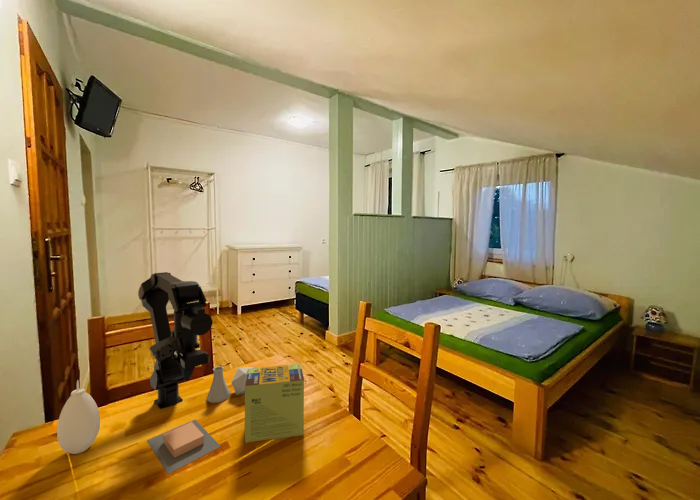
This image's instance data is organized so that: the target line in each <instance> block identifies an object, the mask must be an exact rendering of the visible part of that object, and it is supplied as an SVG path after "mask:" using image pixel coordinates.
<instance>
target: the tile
mask: <svg viewBox="0 0 700 500" xmlns="http://www.w3.org/2000/svg"><path fill="white" fill-rule="evenodd" d="M189 422H190V421H189ZM187 423H188V422H187ZM185 424H186V423H185ZM182 425H183V424H182ZM180 426H181V425H180ZM178 427H179V426H178ZM175 428H176V427H175ZM173 429H174V428H173ZM171 430H172V429H171ZM168 431H169V430H168ZM166 432H167V431H166ZM164 433H165V432H164ZM163 443H164V444H165V446H166V447H167V448H168V450H169V451H170V453H171V454H172V456H173V457H174V458H175V457H178V456H180V455H182V454H184V453H186V452H188V451H190V450H192V449H194V448H196V447H198V446H200V445H202V444H203V443H204V435H203V434H202V432H201V431H200V430H199V429H198V428H197V427H196V426H195V425H194V424H193V423H192V422H190V423H188V424H186V425H183V426H181V427H179V428H176V429H174V430H172V431H169V432H167V433H165V434H163Z"/></svg>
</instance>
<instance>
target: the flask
mask: <svg viewBox="0 0 700 500" xmlns="http://www.w3.org/2000/svg"><path fill="white" fill-rule="evenodd" d="M224 369H225V367H224V366H220V365H219V366H218V365H217V366H215V367H214V368H212V371H213V378H212V382H211V386H210V388H209V391H208V394H207V396H206V400H205V401H207V402H209V403H211V404H212V403H214V404H215V403H222V402H224V401H226V400H227V399H229V398H230V396H231V390H230V389H229V386H228V385H227V383H226V380H225V378H224Z"/></svg>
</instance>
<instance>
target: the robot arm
mask: <svg viewBox="0 0 700 500" xmlns="http://www.w3.org/2000/svg"><path fill="white" fill-rule="evenodd" d="M137 293H138V298H139V300H140V301H141V305H142V307H143V308H144V309H146V310H147V311H148V312H149V317H150V320H151V325H152V331H153V336H154V341H155V344H153V345H151V346H150V347H149V350H150V352H151V354H152V356H153V359H155V362H154V364H153V372H152V374H151V376H150V378H149V382H150V383H149V384H150V387H151V388H153V390H154V391H157V399H154V400H153V403H154V404H155V405H156V406H157V407H158V409H160V410H163V409H165V408H167V407H170V406H173V405H175V404H179V403H181V402H183V401H184V399H183V398H182V397H181V396H180V395H179V392H180V390H179V388H180V387H179V383H181V382H188V381H190V379H191V377H192V375H193V373H194V371H195V369H196V367H200V366H202V365H206V364H208V363H210V354H208V352H206V351H205V350H203V349H201V345H200V343H199V342H198V336H203V335H206V334H207V333H208V332H210V330H211V328H212V327H213V319H212V317H211V315H209V314H208V313H206V309H205V308H204V307H207V298H206V296H205V294H204V292H203V289H202V286H201V285H200V284H199V283H198V282H197V281H193V280H190V281H189V280H185V281H184V280H181V279H180V278H178V277H176V276H174V275H173V274H171V272H168V271H167V272H166V271H165V272H164V271H163V272H154V273H152V274H151V275H150V277H149V278H148V279H146V280H144V281H143V282H142V283H141V284H140V286H139V289H138V291H137ZM169 302H170V304H171V307H172V310H173V325H174V326H173V329H171V326H170V320H169V315H168V311H167V305H168V303H169ZM199 348H200V349H199Z"/></svg>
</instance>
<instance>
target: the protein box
mask: <svg viewBox="0 0 700 500" xmlns="http://www.w3.org/2000/svg"><path fill="white" fill-rule="evenodd" d="M304 406H305V378H304V373H303V368H302V364H301V363H295V364H285V365H275V366H274V365H273V366H272V365H271V366H263V367H256V368H252V369H248V373H247V379H246V383H245V394H244V443H252V442H257V441H258V442H259V441H264V440H265V441H266V440H270V441H272V440H279V439H286V438H293V437H298V436H304V432H305V429H304V428H305V426H304V421H305V419H304V418H305V417H304V416H305V415H304V413H305V407H304Z"/></svg>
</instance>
